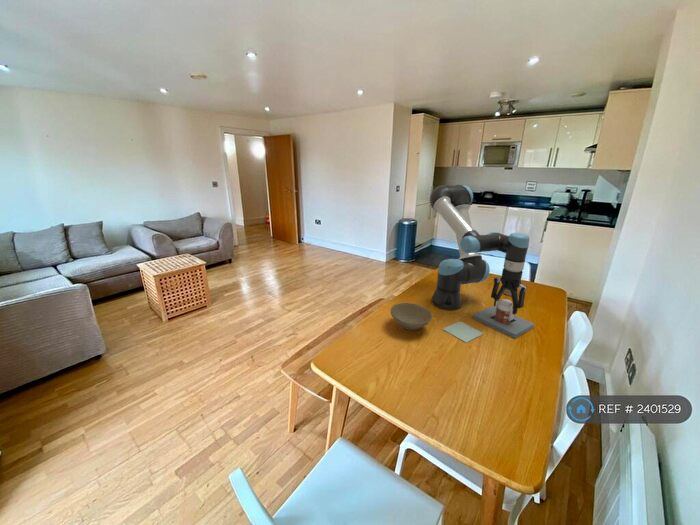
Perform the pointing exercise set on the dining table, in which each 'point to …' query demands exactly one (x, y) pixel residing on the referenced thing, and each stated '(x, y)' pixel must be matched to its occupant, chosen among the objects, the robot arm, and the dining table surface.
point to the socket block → (512, 329)
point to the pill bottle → (503, 311)
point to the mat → (463, 331)
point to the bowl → (411, 315)
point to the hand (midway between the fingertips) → (503, 316)
